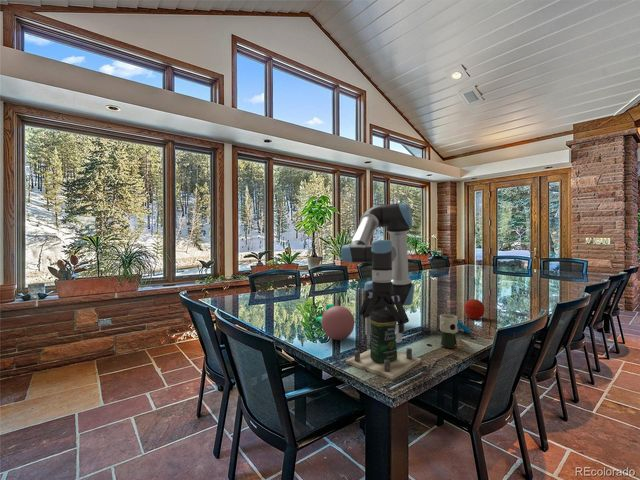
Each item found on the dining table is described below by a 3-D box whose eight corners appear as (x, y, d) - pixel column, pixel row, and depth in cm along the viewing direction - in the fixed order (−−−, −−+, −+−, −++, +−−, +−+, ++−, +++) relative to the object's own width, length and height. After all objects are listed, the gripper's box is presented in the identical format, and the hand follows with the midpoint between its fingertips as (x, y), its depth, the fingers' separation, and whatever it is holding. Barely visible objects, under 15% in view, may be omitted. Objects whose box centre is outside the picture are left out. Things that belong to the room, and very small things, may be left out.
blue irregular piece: (475, 332, 147) (459, 317, 148) (467, 342, 146) (451, 327, 147) (463, 329, 158) (449, 315, 159) (456, 337, 157) (441, 323, 158)
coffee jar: (379, 366, 112) (379, 314, 112) (367, 358, 119) (366, 309, 119) (401, 361, 116) (400, 310, 116) (387, 354, 123) (387, 306, 123)
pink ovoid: (338, 329, 161) (338, 299, 160) (361, 341, 143) (360, 307, 143) (311, 334, 154) (311, 303, 153) (331, 347, 136) (331, 311, 136)
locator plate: (345, 363, 118) (345, 350, 118) (376, 349, 132) (376, 338, 132) (392, 379, 104) (392, 365, 104) (421, 362, 118) (420, 349, 118)
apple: (488, 320, 173) (487, 299, 173) (469, 320, 173) (469, 300, 173) (479, 316, 183) (478, 296, 183) (461, 316, 183) (461, 296, 183)
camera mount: (315, 322, 177) (315, 304, 177) (326, 319, 181) (325, 302, 181) (329, 326, 167) (328, 307, 167) (339, 324, 172) (339, 305, 172)
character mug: (449, 352, 127) (449, 320, 127) (434, 347, 133) (433, 316, 133) (463, 346, 134) (463, 315, 134) (448, 341, 140) (447, 312, 140)
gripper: (349, 279, 124) (350, 333, 124) (407, 285, 106) (408, 348, 106) (361, 277, 129) (362, 329, 129) (418, 282, 112) (418, 342, 112)
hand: (383, 337), depth 118 cm, fingers open, 13 cm apart
